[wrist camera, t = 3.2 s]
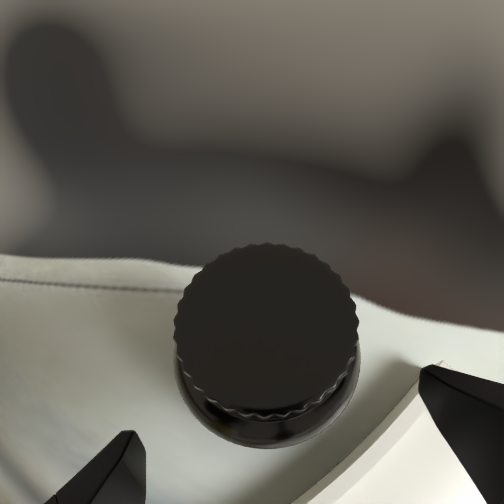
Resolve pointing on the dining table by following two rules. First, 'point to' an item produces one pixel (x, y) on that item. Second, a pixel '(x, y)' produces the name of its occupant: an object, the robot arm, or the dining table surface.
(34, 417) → the dining table surface
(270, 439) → the supplement bottle
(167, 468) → the dining table surface
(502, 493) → the robot arm
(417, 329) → the dining table surface
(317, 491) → the tray
